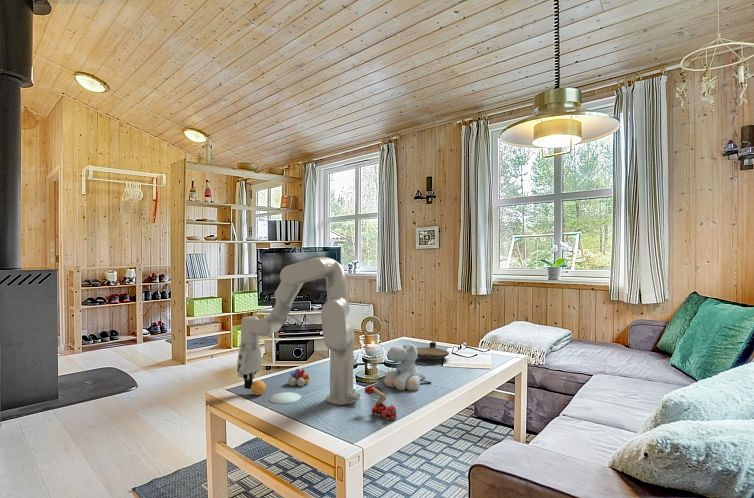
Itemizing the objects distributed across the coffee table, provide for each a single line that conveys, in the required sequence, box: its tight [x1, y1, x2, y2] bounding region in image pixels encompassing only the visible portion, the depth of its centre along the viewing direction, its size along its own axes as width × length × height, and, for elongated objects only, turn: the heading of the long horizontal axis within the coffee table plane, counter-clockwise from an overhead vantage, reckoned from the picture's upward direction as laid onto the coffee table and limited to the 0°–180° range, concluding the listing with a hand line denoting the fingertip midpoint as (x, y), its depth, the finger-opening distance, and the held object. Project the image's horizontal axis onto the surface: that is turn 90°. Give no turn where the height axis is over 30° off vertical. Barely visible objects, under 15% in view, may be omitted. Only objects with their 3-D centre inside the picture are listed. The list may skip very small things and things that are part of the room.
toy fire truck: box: [364, 385, 397, 421], centre depth 156 cm, size 3×14×10 cm, turn 48°
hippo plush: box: [383, 342, 432, 391], centre depth 191 cm, size 18×23×18 cm
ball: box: [250, 379, 266, 396], centre depth 177 cm, size 6×6×6 cm
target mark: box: [268, 391, 302, 405], centre depth 173 cm, size 13×13×1 cm
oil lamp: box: [416, 339, 450, 361], centre depth 238 cm, size 22×30×8 cm
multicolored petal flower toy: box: [287, 368, 311, 388], centre depth 191 cm, size 8×10×7 cm
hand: (248, 388), depth 179 cm, fingers closed
